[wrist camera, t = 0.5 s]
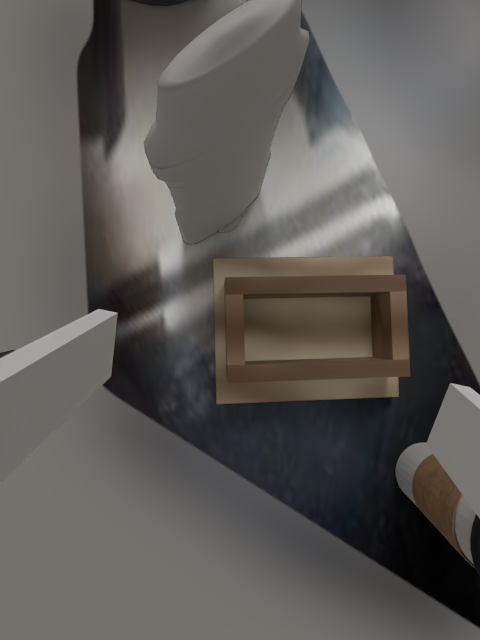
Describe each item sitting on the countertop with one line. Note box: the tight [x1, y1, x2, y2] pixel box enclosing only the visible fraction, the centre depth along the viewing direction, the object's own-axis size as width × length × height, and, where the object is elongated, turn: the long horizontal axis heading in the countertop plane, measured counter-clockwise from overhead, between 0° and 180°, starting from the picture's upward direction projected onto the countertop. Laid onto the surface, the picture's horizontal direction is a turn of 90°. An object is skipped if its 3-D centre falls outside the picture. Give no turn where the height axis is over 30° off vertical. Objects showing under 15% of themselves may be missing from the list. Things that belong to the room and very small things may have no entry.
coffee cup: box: [396, 443, 480, 576], centre depth 29 cm, size 8×8×15 cm
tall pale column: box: [144, 0, 310, 244], centre depth 25 cm, size 11×4×22 cm, turn 129°
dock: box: [213, 256, 410, 404], centre depth 33 cm, size 14×18×6 cm
